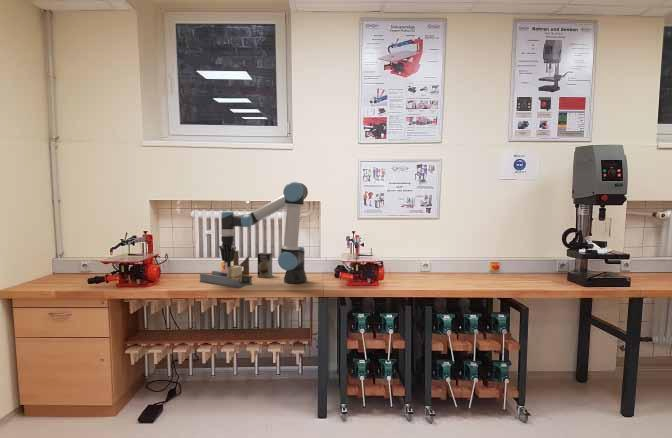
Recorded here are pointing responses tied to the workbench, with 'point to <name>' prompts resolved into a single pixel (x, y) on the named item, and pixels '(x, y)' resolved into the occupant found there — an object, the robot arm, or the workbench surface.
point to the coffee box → (264, 265)
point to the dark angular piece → (244, 264)
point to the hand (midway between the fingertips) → (227, 272)
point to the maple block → (234, 272)
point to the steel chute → (225, 279)
